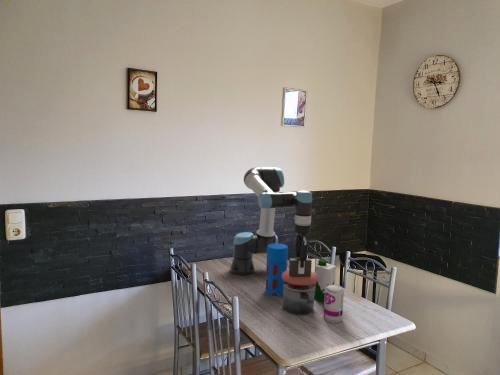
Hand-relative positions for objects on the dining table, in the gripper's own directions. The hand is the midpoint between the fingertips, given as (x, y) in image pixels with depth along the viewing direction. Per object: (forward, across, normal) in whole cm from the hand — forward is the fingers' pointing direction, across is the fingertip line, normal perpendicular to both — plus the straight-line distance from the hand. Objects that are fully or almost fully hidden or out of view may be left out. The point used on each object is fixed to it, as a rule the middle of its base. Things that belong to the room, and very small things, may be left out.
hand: (299, 272), depth 175 cm
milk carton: (+18, -9, +16) cm, 26 cm away
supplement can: (+18, +12, +13) cm, 25 cm away
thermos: (+18, -20, -7) cm, 28 cm away
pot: (+18, 0, 0) cm, 18 cm away
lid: (+3, 0, 0) cm, 3 cm away
